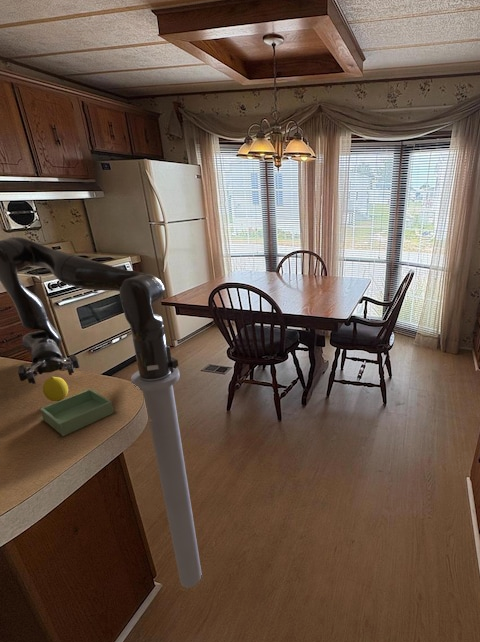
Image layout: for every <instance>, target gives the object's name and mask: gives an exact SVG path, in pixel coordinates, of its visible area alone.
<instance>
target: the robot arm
mask: <svg viewBox="0 0 480 642" xmlns="http://www.w3.org/2000/svg"><path fill="white" fill-rule="evenodd" d="M28 267H39V268H43V269H44V268H45V269H47V270H49V271H50V273H51V274H52V275H53V276H54V277H55V278H56V279H57V280H58V281H59V282H61V283H63V284H65V285H69V286H71V287H75V288H78V289H83V290H91V291H115V292H119V298H120V302H121V306H122V311H123V314H124V317H125V320H126V321H127V323H128V324H129V327H130V332H131V337H132V343H133V348H134V352H135V358H136V363H137V368H138V371H139V376H140V379H141V380H143V381H158V380H162V379H164V378H166V377H168V376H169V375H170V374H171V373H172V372H173V368H175V369H176V367H177V368H178V367H179V360H178V359H177V358H174V357H172V354H171V346H170V345H167V339H166V333H165V327H164V320H163V317H162V315H159V314H157V313H154V311H153V306H152V304H155V303H156V302H158V301H159V300H160V299H162V298H163V297H164V294H165V286H164V284H163V283H162V281H161V279H159V278H158V277H157V276H155V275H153V274H150V273H147V272H142V271H141V272H140V271H134V270H129V269H123V268H120V267H116V266H112V265H109V264H107V263H102V262H100V261H97V260H92V259H90V258H86V257H83V256H80V255H75V254H72V253H71V254H70V253H67V252H64V251H60V250H59V249H58V250H57V249H54V248H50V247H47V246H45V245H42V244H40V243H37V242H35V241H32V240H30V239H27V238H24V237H19V236H12V237H7V238H5V239H1V240H0V284H1V285H2V286H3V288H4V289H5V291H6V293H7V294H8V296H9V297H10V299H11V301H12V302H13V304H14V307H15V309H16V312H17V314H18V317H19V319H20V322H21V324H22V326H23V328H25V329H27V330H36V331H33V332H32V331H31V332H29V333H26V334H25V335H23V336H22V340H21V341H22V346H23V347H24V349H25V350H26V351H27V352H28V353H30V358H31V362H32V363H31V365H30V366H25V365H24V364H22V365H18V369H17V375H18V378H19V380H20V382H25V381H26V380H27V382H28V383H29V384H32V385H36V383H37V382H36V378H40V377H41V376H43V375H44V374H48V373H53V372H56V371H60V372H65V371H67V373H68V376H72V375H73V374H74V373H75V369H79V368H80V367H81V365H80V363H79V359H78V358H77V356H76V355H75V354H70V355H69V357H66V358H65V357H63V354H62V352H61V350H60V346H61V344H62V342H63V340H62V339H63V338H62V336H61V334H60V333H59V331H57V329H56V328H55V327H54V325H52V323H51V322H50V320H49V317H48V315H47V311H46V309H45V306H44V304H43V302H42V300H41V299H40V298H39V297H38V296H37V295H36V294H35V293H33V292H32V291H30V290H29V289H28V288H27V287H25V286H24V285H23V283H22V282H21V281H20V279H19V276H18V275H19V274H18V271H20V270H23V269H26V268H28Z"/></svg>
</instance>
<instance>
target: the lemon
mask: <svg viewBox="0 0 480 642" xmlns="http://www.w3.org/2000/svg"><path fill="white" fill-rule="evenodd" d="M42 393H43V395H44V396H45V398H46V399H47V400H49V401H51V402H58V401H61V400H63V399H66V398H67V396H68V394H69V386H68V383H67V382H66V380H64V378H62V377H60V376H50V377H49V378H47V379H46V380H45V381H44V382H43V384H42Z"/></svg>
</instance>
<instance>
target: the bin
mask: <svg viewBox="0 0 480 642" xmlns="http://www.w3.org/2000/svg"><path fill="white" fill-rule="evenodd" d="M39 411H40V413H41V416H42V420H43V421H44V422H45V423H47V424H48V425H49V426H50V427H52V428H53V429H54V430H55V431H56V432H57V433H58V434H60V435H61V436H62V437H64V436H68V435H69V434H71V433H73V432H76V431H78V430H80V429H82V428H84V427H86V426H89V425H91V424H93V423H95V422H98V421H100V420H102V419H103V418H106V417H108V416H110V415H112V414H114V413H115V411H114V406H113V403H112V401H111V400H110V399H108V398H106V397H105V396H103V395H102V394H100V393H99V392H96V391H95V390H93V389H92V388H89V389H87V390H84V391H82V392H79V393H76V394H74V395H71V396H69V397H65V398H64V399H62V400H61V401H55V402H53V403H50V404H48V405H45V406H43V407H40V408H39Z"/></svg>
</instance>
